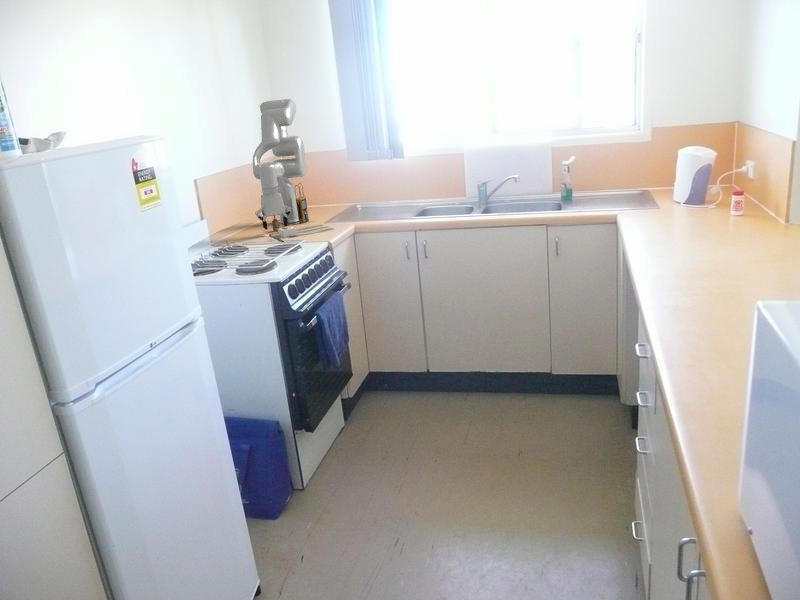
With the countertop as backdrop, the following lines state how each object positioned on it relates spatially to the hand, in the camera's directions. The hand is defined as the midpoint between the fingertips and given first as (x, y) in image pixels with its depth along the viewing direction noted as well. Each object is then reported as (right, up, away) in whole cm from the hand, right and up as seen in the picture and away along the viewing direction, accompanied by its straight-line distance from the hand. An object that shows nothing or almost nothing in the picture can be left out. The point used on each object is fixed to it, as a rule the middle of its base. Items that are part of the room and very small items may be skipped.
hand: (275, 227), depth 313 cm
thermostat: (+7, -5, -11) cm, 14 cm away
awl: (0, -3, +1) cm, 3 cm away
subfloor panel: (+13, -4, -7) cm, 15 cm away
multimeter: (+14, +4, +19) cm, 24 cm away
